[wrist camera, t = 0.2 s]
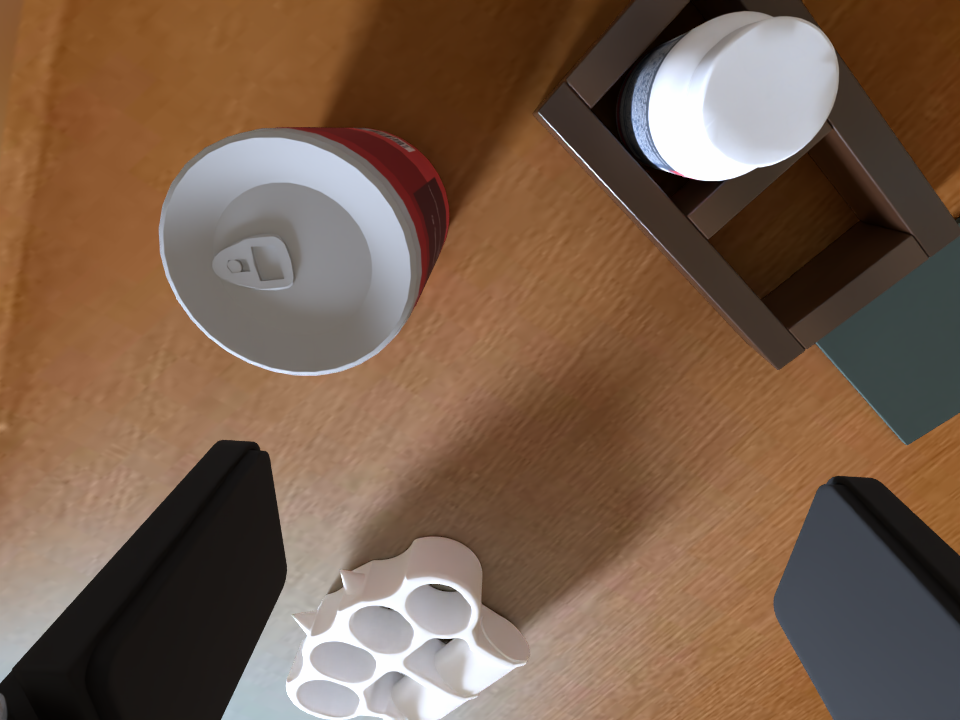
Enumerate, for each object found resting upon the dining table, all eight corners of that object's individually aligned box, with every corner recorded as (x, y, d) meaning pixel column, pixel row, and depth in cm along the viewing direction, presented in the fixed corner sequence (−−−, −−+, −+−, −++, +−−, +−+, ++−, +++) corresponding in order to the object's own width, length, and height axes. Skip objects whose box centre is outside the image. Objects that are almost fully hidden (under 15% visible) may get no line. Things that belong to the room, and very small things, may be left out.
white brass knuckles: (407, 717, 43) (258, 634, 39) (559, 608, 37) (399, 499, 33) (400, 762, 40) (237, 677, 36) (565, 652, 34) (388, 537, 30)
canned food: (263, 165, 25) (101, 192, 15) (412, 98, 23) (345, 76, 13) (337, 306, 27) (244, 408, 18) (474, 254, 26) (457, 333, 16)
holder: (692, -70, 20) (727, -107, 17) (904, 219, 25) (965, 232, 21) (531, 113, 23) (536, 112, 20) (746, 343, 28) (778, 371, 24)
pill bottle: (629, 186, 24) (692, 215, 16) (600, 69, 22) (657, 36, 14) (742, 144, 23) (868, 153, 15) (723, 18, 21) (857, -48, 13)
